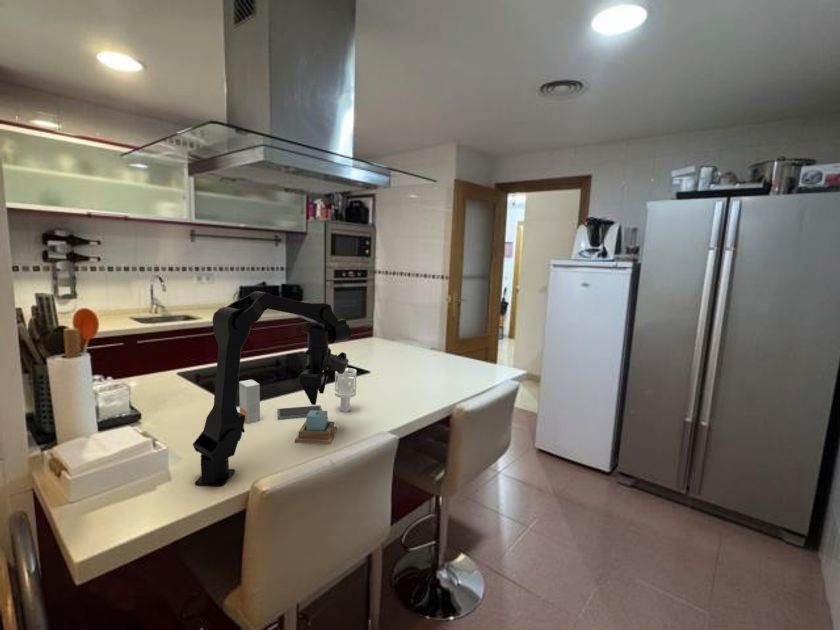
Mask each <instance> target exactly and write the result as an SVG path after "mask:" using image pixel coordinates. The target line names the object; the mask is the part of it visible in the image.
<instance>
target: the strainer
mask: <svg viewBox="0 0 840 630" xmlns="http://www.w3.org/2000/svg"><path fill="white" fill-rule="evenodd" d="M356 395H357V369H355V368H351V367H346V370H345V371H344V373H343V374H340V373H338V372H336V371H334V396H335V397H336V398H340V412H343V413H346V412H349V411H351V409H350V408H351V407H350V406H351V405H350V404H351V398H355V396H356Z"/></svg>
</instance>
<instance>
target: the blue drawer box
mask: <svg viewBox="0 0 840 630" xmlns="http://www.w3.org/2000/svg"><path fill="white" fill-rule="evenodd" d="M327 417H328V410H322V411H317V410H310V412H309V413H308V415H307V416H306V417H305V418H306V420H305V422H306V431H326V430H327V421H328V418H327Z"/></svg>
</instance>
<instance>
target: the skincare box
mask: <svg viewBox="0 0 840 630" xmlns="http://www.w3.org/2000/svg"><path fill="white" fill-rule="evenodd" d="M260 385H261V384H260V383H258V382H257V381H255V380H254V379H248V380H240V381H238V390H239V395H238V397H239V413H241V414H243V415H245V422H244V423H246V424H251V423H255V422H259V421H261V404H260V403H261V397H260V396H261V390H260V389H261V388H260V387H261V386H260Z"/></svg>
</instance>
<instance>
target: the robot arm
mask: <svg viewBox="0 0 840 630" xmlns="http://www.w3.org/2000/svg"><path fill="white" fill-rule="evenodd" d="M266 310H271V311H278V312H282V313H288V314H291V315H296V316H298V317H299V318H301V319H303V320H306V321H308V322H307V323H306V324H305V325H304V326H303V327H302V328H301V329H300V332H303V333H307V349H306V350H305V355H306V356H307V363H306V365H305V370H303V372H301V373H300V374H299V375H298V377H297V384H298V385H300V387H301V388H302V389H303V391H304V393H305V395H306V396H307V399H308V400H309V403H310V404H311V406H317V405H316V404H317V401H318V394H321V395H322V394H324V393H325V389H326V385H327V381H328V376H329V375H330V374H331V373H332V372H333V371H334V372H335V371H336V372H338V373H340V374H343V373H344V371H345V370H346V368H348V364H349V363H350V362H349V358H348V357H347V353H345V352H343V351H341V352H339V353H338V354H333V353H332V349H331V348H330V347H329V344H337V343H341V342H347V341H349V340H350V339H351V336H352V330H351V328H350V326H349V324H348V323H347V319H345V318H338V317H336V315H335V314H334V311H333V308H332V306H331V304H329V303H325V302H320V301H313V300H300V301H299V300H296V299H291V298H286V297H284V296H283V297H282V296H280V295H279V296H278V295H274V294H270V293H269V292H264V291H258V290H255V291H253V292H251V293H249V294H248V295H247V296H245V297H243V298H241V299H238V300H235V301H234V302H232V303H230V304H229V305H227V306H223V307H220V308H218V309H217V310H216V311H215V312H214V313H213V316H212V327H213V334H214V338H215V340H216V343H217V346H218V347H217V348H218V349H217V360H216V361H217V362H216V363H217V364H216V373H215V375H216V376H215V385H214V386H215V388H214V396H213V398H214V399H213V406H212V408H211V410H210V412H209V413H208V415H207V416H206V419H205V421H204V427H203V431H202V432H201V433H200V434H199V436H198V437H197V438H196V439H195V441H194V442H193V443H192V447H193V449H194V450H195V452H197V453H199V454H200V474H201V475H200V476H199V477H198V478H197V480H196V481H194V485H195V486H213V487H214V486H217V487H222V486H225V484H227V482H228V480H230V478H231V477H232V476H233V475H234V474H235V472H236V469H234V468H230V464H229V463H230V460H229V458H231V457H234V456H235V454H236V450H237V447H238V443H239V442H240V441H241V439H242V436H243V435H242V434H243V433H245V427H244V426H245V423H246V422H245V415H243V414H241V413H240V411H238V408H237V402H238V390H239V382H240V381H239V378H240V366H241V358H242V357H241V355H242V347H243V346H244V344H245V343H246V341H247V340H248V337H249V335H250V332H251V327H252V326H253V325H254V324H255V323H256V322H258V321H259V320H260V319H261V318H262V316H263V314H264V312H265V311H266ZM309 322H312V323H309ZM313 323H316V324H313Z"/></svg>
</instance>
